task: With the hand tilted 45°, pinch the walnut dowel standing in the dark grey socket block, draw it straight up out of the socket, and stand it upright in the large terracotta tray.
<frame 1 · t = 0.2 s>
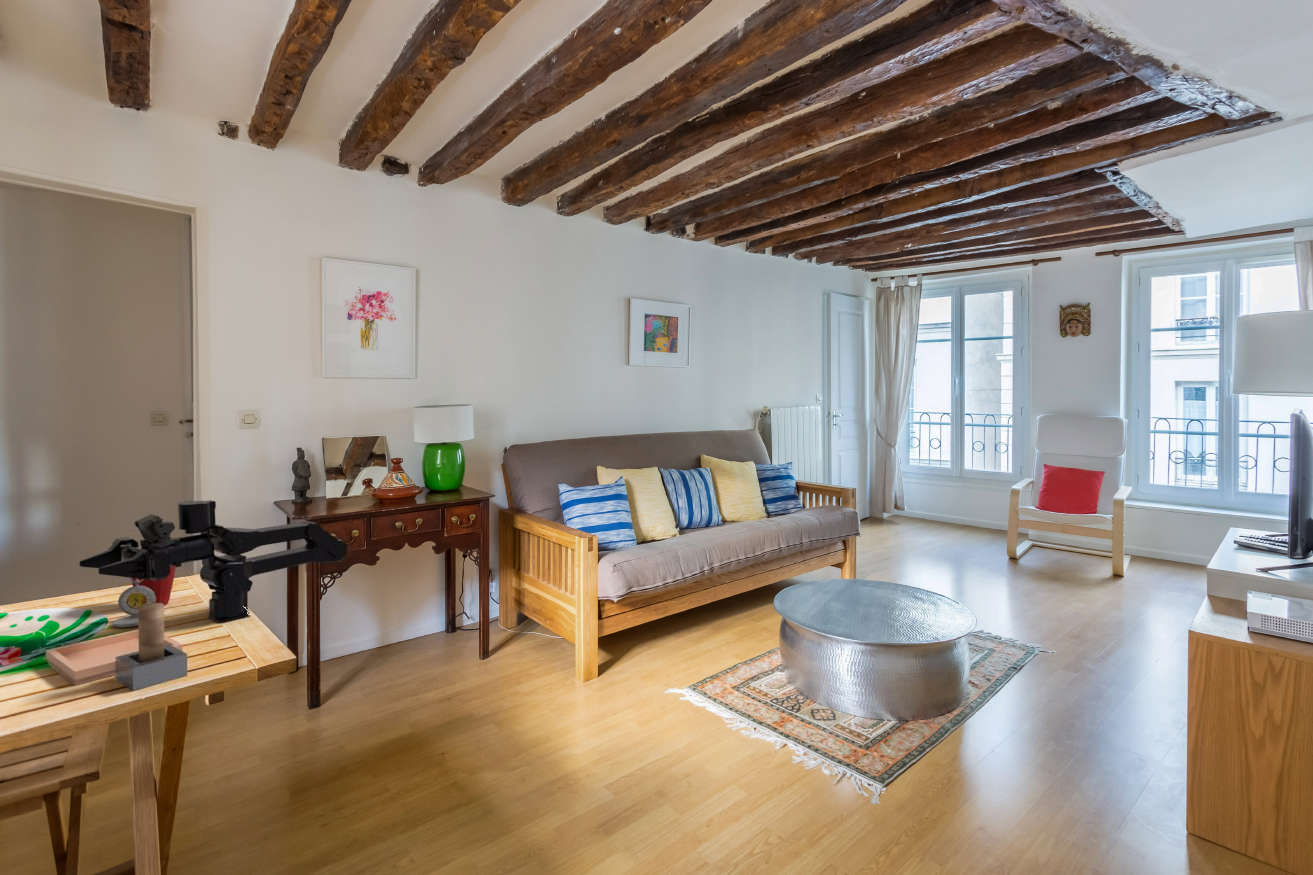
hand: (88, 567, 125), 17 cm above the table, tool horizontal, fingers open, 9 cm apart
dowel: (151, 641, 115), in the socket
plastic cup: (152, 605, 154), on the table
pocket watch: (134, 623, 142), on the table
tray: (115, 660, 122), on the table
socket: (151, 677, 115), on the table
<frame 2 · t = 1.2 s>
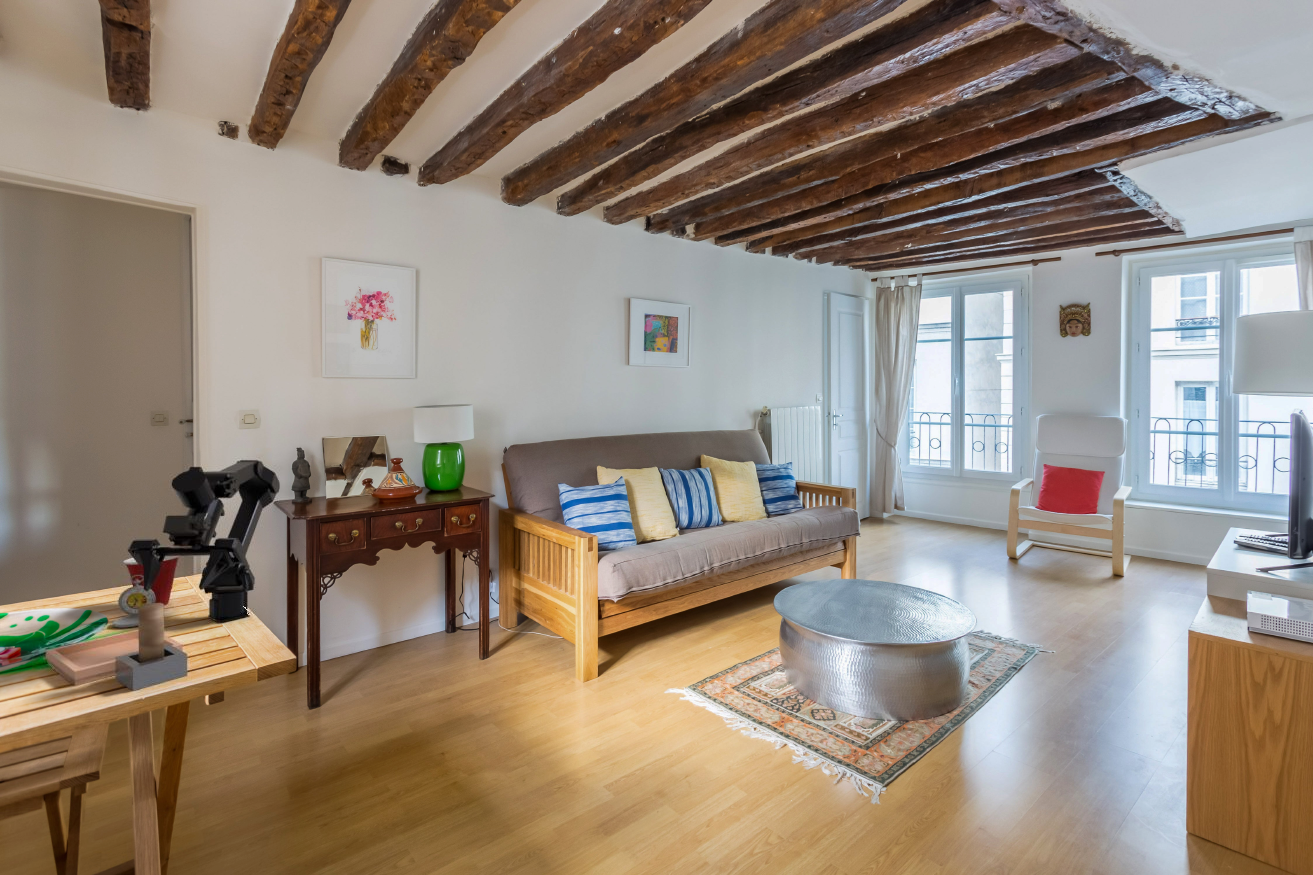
hand: (173, 589, 122), 14 cm above the table, tool tilted 45°, fingers open, 9 cm apart
nothing on the table moved.
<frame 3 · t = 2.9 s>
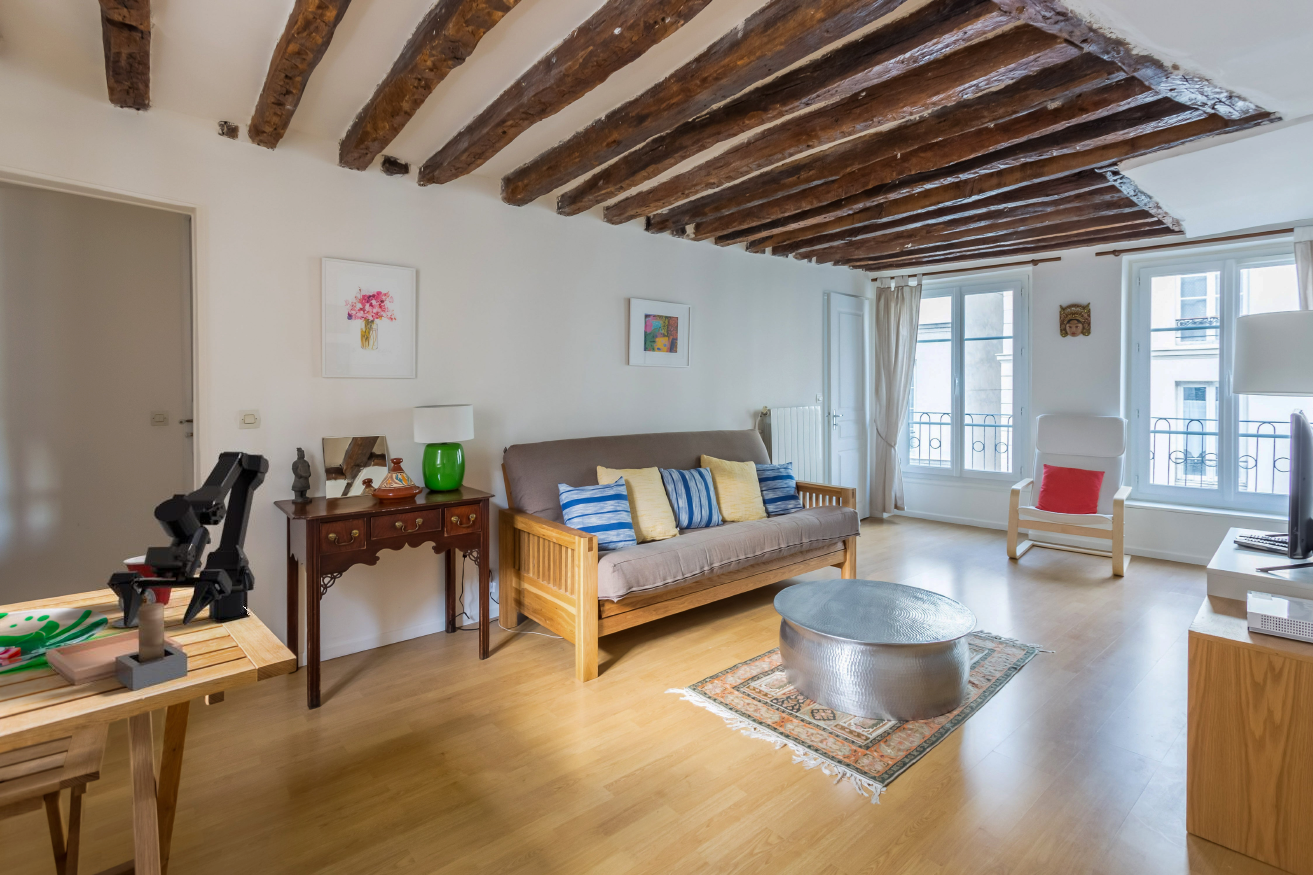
hand: (155, 625, 116), 9 cm above the table, tool tilted 45°, fingers open, 9 cm apart
nothing on the table moved.
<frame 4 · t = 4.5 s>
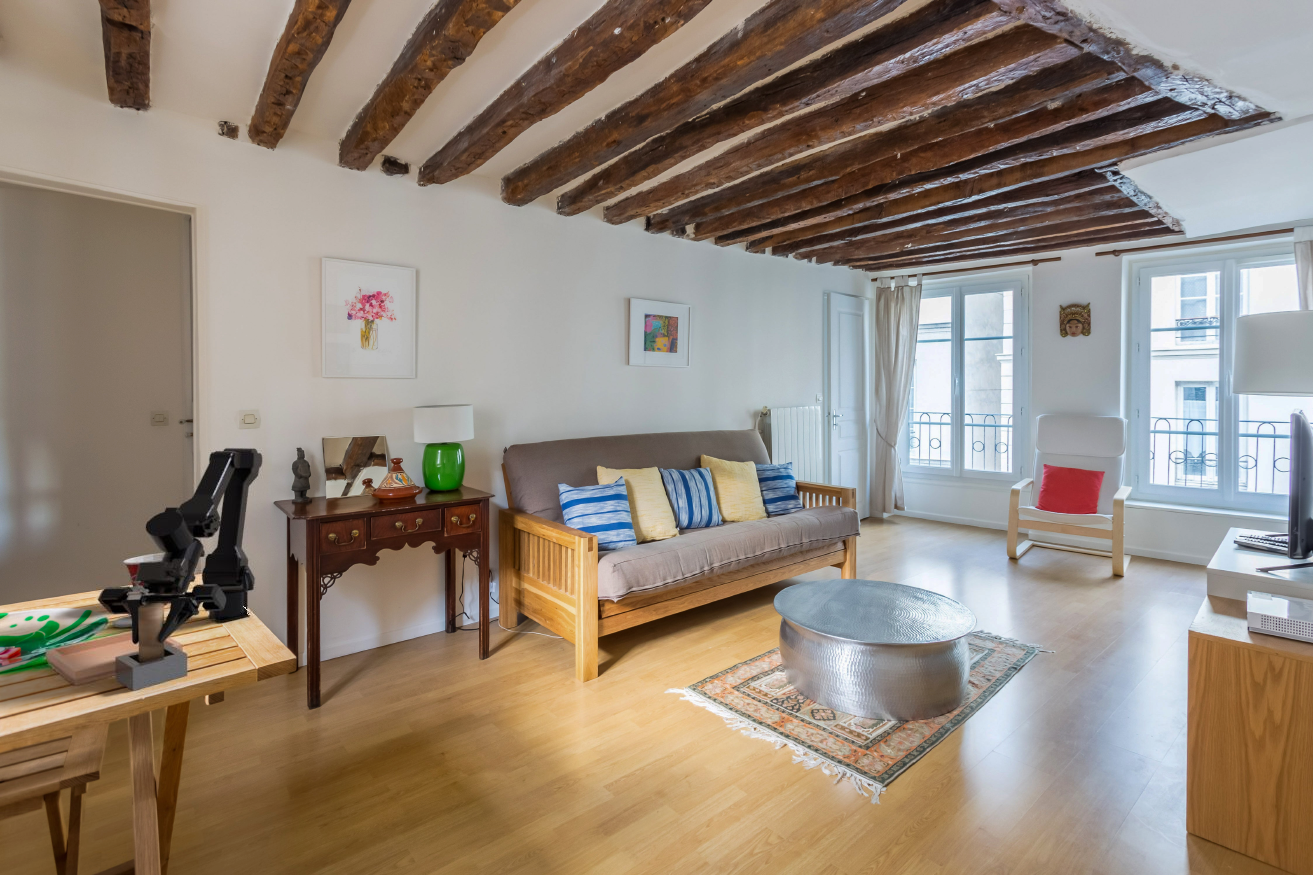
hand: (147, 642, 114), 7 cm above the table, tool tilted 45°, fingers closed on dowel, 4 cm apart
dowel: (151, 641, 115), in the socket, touching gripper
everything else where it was.
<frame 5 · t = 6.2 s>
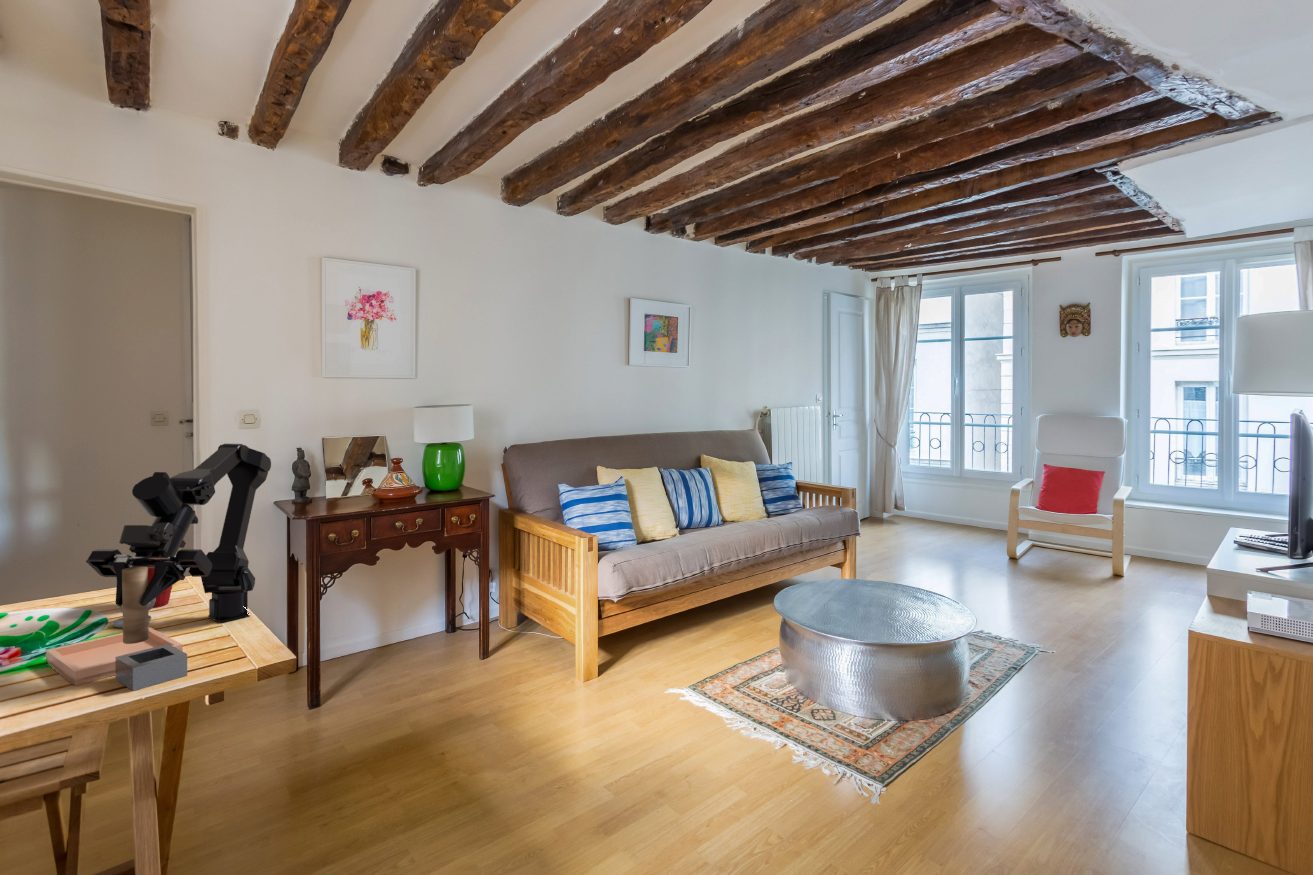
hand: (130, 604, 114), 13 cm above the table, tool tilted 45°, fingers closed on dowel, 4 cm apart
dowel: (135, 604, 115), point 13 cm above the table, touching gripper
everything else where it was.
when the fingers open (9 cm above the table, at t = 8.1 s): dowel drops 1 cm, resting on tray.
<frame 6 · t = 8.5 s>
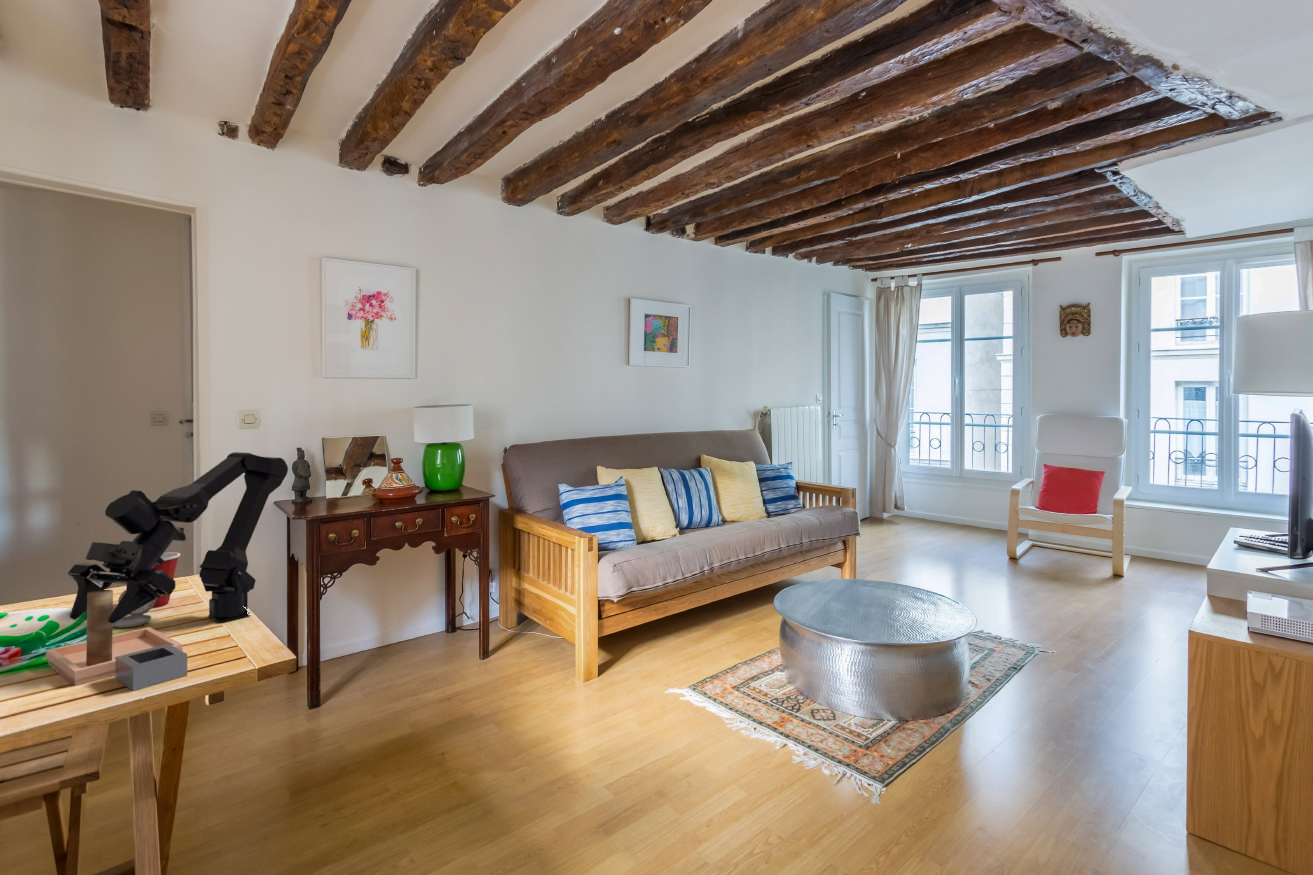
hand: (91, 620, 117), 9 cm above the table, tool tilted 45°, fingers open, 8 cm apart
dowel: (99, 627, 118), in the tray, point 8 cm above the table
everything else where it was.
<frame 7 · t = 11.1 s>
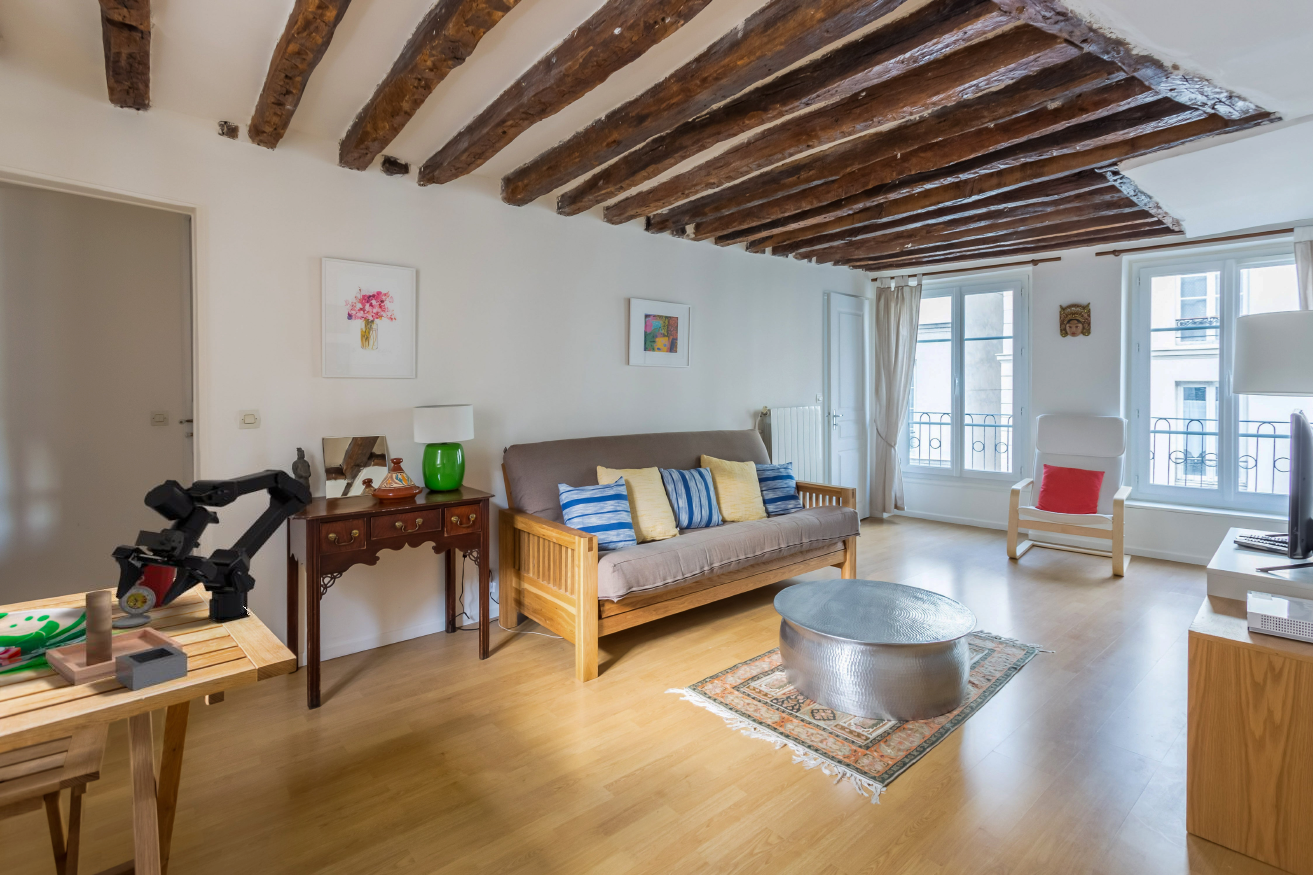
hand: (140, 601, 126), 10 cm above the table, tool tilted 40°, fingers open, 9 cm apart
nothing on the table moved.
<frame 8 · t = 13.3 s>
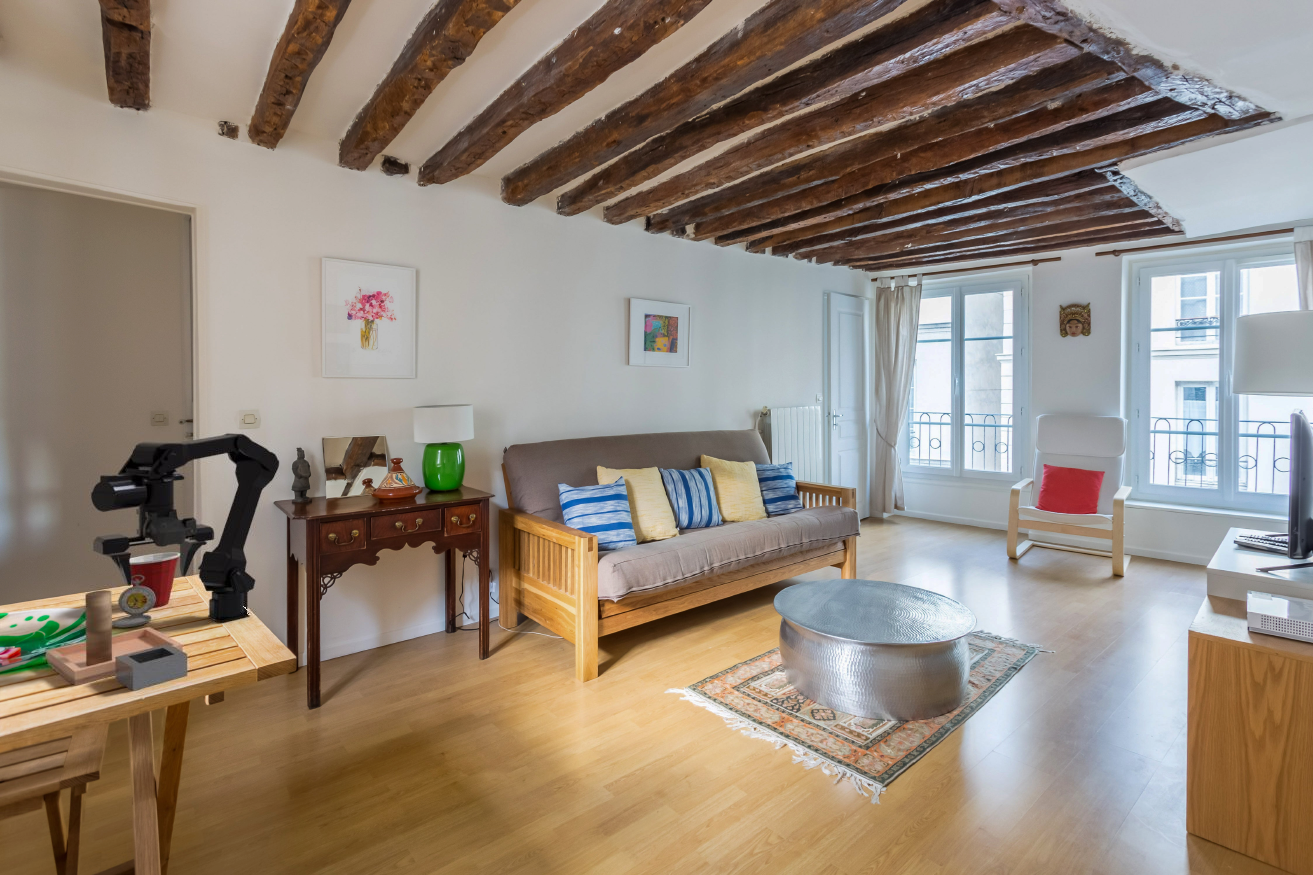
hand: (156, 580, 130), 13 cm above the table, tool pointing down, fingers open, 9 cm apart
nothing on the table moved.
at the end: dowel inside the target area on the tray (3.6 cm from its centre), point 7.5 cm above the tray's base; dowel tilted 0°; the gripper is holding nothing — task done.
